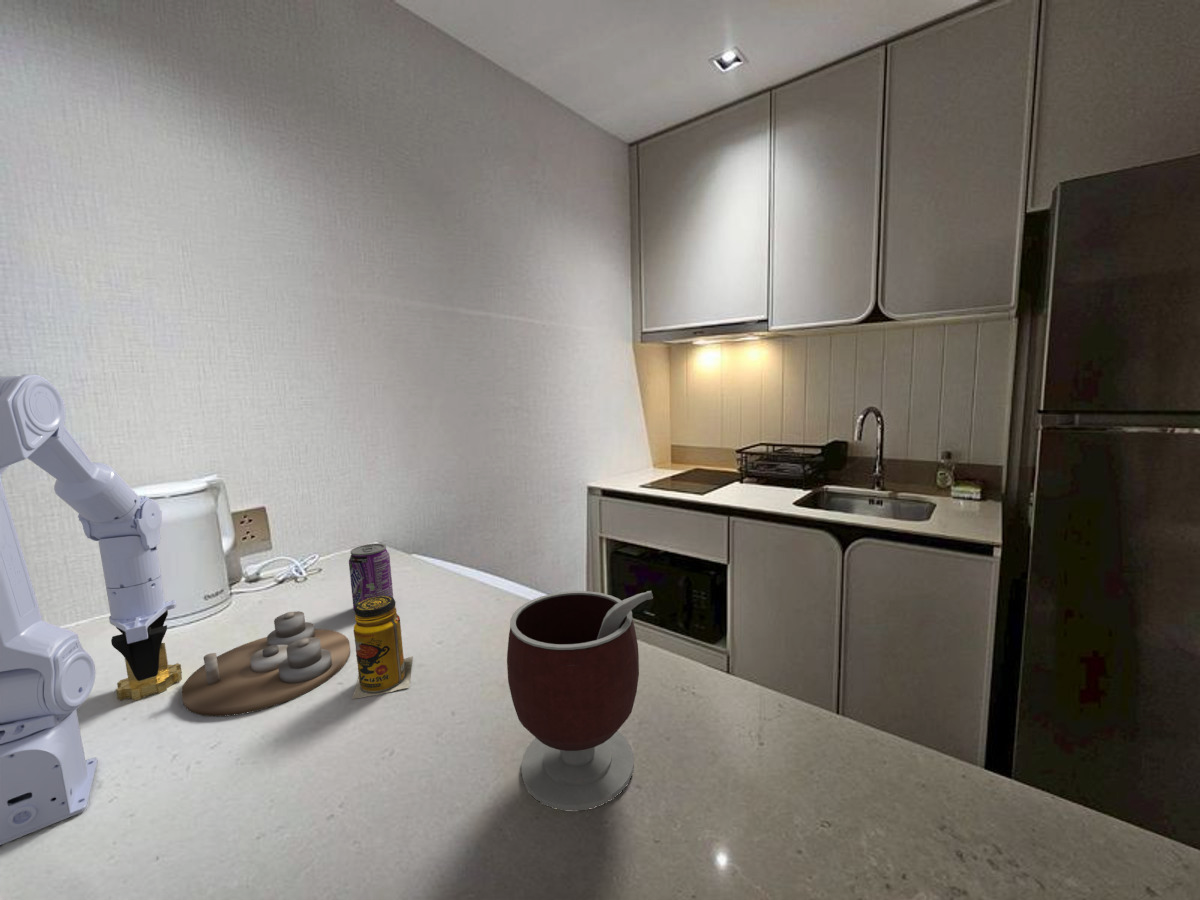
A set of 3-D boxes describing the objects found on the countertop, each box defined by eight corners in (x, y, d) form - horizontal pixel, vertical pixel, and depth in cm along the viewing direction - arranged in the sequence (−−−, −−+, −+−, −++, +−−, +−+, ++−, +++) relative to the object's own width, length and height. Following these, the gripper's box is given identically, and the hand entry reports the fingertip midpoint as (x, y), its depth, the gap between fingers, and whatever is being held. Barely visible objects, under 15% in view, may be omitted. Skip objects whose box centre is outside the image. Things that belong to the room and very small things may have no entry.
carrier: (366, 671, 73) (363, 634, 72) (183, 740, 60) (176, 695, 59) (333, 623, 89) (329, 593, 88) (182, 669, 76) (176, 633, 75)
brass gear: (182, 686, 71) (176, 650, 70) (115, 707, 67) (109, 669, 66) (181, 666, 76) (176, 633, 76) (120, 685, 72) (114, 650, 71)
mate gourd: (495, 812, 48) (482, 618, 45) (533, 718, 61) (525, 564, 59) (655, 826, 46) (650, 623, 43) (657, 725, 59) (654, 566, 57)
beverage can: (354, 605, 97) (348, 546, 95) (393, 597, 100) (388, 540, 98) (353, 619, 90) (346, 557, 89) (394, 611, 93) (389, 550, 92)
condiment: (352, 700, 66) (343, 616, 65) (362, 667, 74) (354, 592, 73) (409, 689, 69) (402, 607, 67) (413, 658, 77) (406, 584, 75)
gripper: (170, 587, 66) (184, 680, 68) (172, 561, 77) (184, 642, 79) (97, 603, 62) (114, 702, 64) (109, 573, 73) (123, 658, 75)
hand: (148, 670), depth 71 cm, fingers closed on brass gear, 4 cm apart
